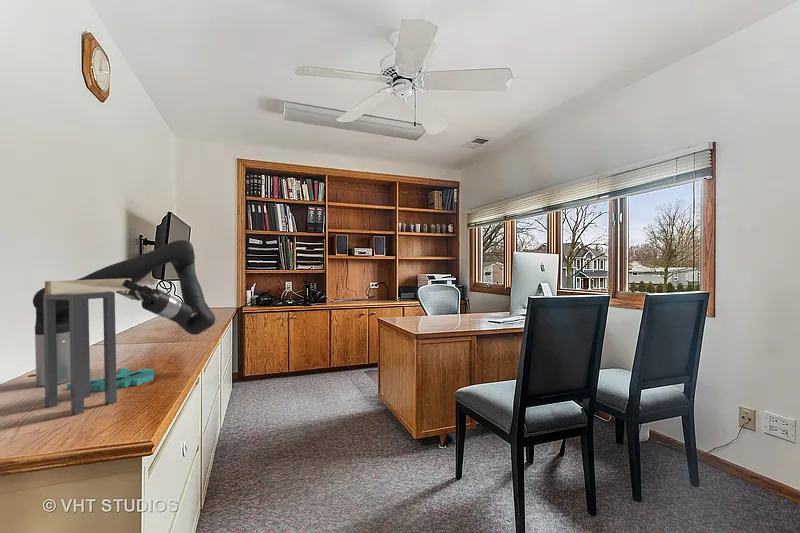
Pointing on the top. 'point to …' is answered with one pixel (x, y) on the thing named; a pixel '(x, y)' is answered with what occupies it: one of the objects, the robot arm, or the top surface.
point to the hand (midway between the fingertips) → (116, 282)
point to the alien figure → (123, 379)
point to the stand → (79, 348)
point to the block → (84, 286)
